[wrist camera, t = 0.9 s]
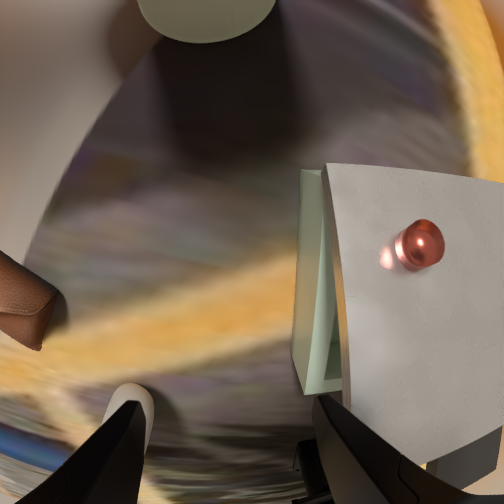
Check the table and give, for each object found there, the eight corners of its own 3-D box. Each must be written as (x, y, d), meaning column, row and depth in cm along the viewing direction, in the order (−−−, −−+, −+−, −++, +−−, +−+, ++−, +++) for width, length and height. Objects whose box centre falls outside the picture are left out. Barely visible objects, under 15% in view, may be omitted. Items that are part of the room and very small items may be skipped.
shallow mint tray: (432, 332, 25) (460, 362, 20) (290, 352, 24) (304, 395, 19) (461, 182, 20) (504, 193, 16) (300, 169, 19) (324, 177, 14)
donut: (134, 429, 26) (117, 510, 16) (103, 416, 25) (78, 495, 16) (168, 371, 24) (151, 471, 14) (130, 353, 23) (96, 450, 13)
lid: (526, 438, 11) (548, 441, 9) (339, 524, 10) (355, 546, 8) (506, 191, 16) (525, 178, 13) (320, 173, 14) (333, 148, 12)
